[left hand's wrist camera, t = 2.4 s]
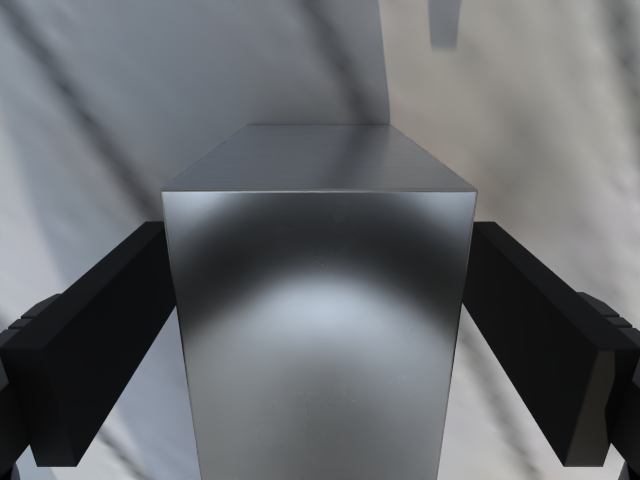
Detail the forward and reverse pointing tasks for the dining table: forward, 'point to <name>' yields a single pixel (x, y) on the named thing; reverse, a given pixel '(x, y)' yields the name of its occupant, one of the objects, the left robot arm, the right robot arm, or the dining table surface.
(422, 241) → the bar
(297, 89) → the dining table surface
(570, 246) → the dining table surface
